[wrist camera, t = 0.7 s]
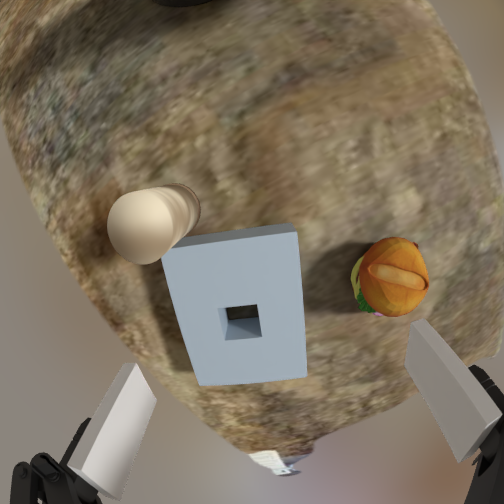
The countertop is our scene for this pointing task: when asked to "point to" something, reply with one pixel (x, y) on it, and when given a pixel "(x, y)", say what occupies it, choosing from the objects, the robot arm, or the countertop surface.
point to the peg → (152, 221)
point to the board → (240, 304)
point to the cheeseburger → (390, 278)
